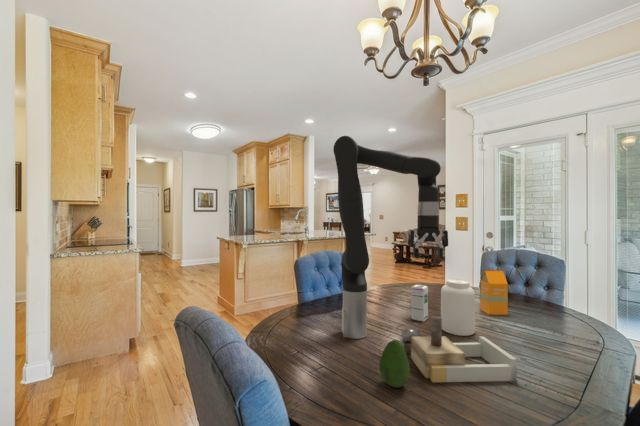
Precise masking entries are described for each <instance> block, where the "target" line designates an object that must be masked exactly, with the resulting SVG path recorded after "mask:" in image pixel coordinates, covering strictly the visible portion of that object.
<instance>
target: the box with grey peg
mask: <svg viewBox="0 0 640 426" xmlns="http://www.w3.org/2000/svg"><path fill="white" fill-rule="evenodd" d="M430 318H431V319H430V320H431V321H430V335H429V336H426V335H425V336H421V335H420V337H411V353H410V359H411V360H412V362H413V363H414V364H415V365H416V367H417V368H418V370H419V371H420V372H421V374H422V375H423V376H424V378H425V380H427V379H430V365H466V357H465V354H464V352H463V351H461V350H460V349H459V348H458V347H457V346H456V345H455V344H453V343H454V342H453V341H451V340H450V339H449V338H448V337H447V336H444V335H442V334H443V330H442V318H441V316H436V315H434V316H433V315H432V316H430Z"/></svg>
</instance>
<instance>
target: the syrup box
mask: <svg viewBox="0 0 640 426" xmlns="http://www.w3.org/2000/svg"><path fill="white" fill-rule="evenodd" d="M410 289H411V294H410V295H411V298H410V299H411V300H410V301H411V302H410V303H411V305H410V306H411V307H410V308H411V320H415V321H419V322H425V321H426V320H428V319H429V287H428V286H427V285H423V284H415V285H412V286H411V288H410Z"/></svg>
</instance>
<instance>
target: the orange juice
mask: <svg viewBox="0 0 640 426" xmlns="http://www.w3.org/2000/svg"><path fill="white" fill-rule="evenodd" d="M508 285H509V283H508V281H507V278H506V275H505V273H504V270H498V269H497V270H492V269H491V270H489V269H486V270H484V272H483V275H482V277H481V280H480V311H482V312H484V313H485V314H487V315H488V316H489V315H491V316H508V314H509V313H508V310H509V309H508V307H509V305H508V302H509V294H508V293H509V292H508V290H509V289H508V288H509V286H508Z"/></svg>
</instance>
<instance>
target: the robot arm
mask: <svg viewBox="0 0 640 426" xmlns="http://www.w3.org/2000/svg"><path fill="white" fill-rule="evenodd" d="M332 149H333V155H334V158H335V163H336V165H335V166H336V168H337V195H338V196H337V198H338V199H337V201H338V202H337V203H338V211H339V218H340V220H341V226H342V228H343V232H344V235H345V250H344V251H343V253H342V256H341V281H342V282H341V283H342V308H341V334H342V336H343V338H348V339H352V340H353V339H354V340H359V339H363V338H366V337H367V332H368V329H367V325H368V324H367V322H368V314H367V313H368V282H367V279H366V270H367V269H368V268H369V265H370V257H369V256H370V255H369V252H368V246H367V242H366V234H365V233H366V232H365V214H364V213H365V211H364V201H363V200H364V197H363V193H362V186H361V183H360V182H361V181H360V178H359V174H358V165H365V166H366V165H367V166H372V167H376V168H380V169H382V170H387V171H391V172H395V173H399V174H403V175H409V174H410V175H415V176H416V177H417V185H418V196H417V197H418V201H417V220H416V221H417V222H416V223H417V229H416V230H414V229H409V230H408V235H407V236H408V239H407V246H408V247H412V256H413V257H414V259H416V260H417V259H418V260H419V258H420V257H419V254H420V253H419V252H420V251H419V250H420V249H419V247H420V245H422V244H423V243H428V242H429V243H434V244H435V245H436V247H437V248H436V251H437V252H436V258H437V259H442V257H444V248H446V247H449V233H448V230H445V229H442V230H440V204H439V196H440V195H439V188H438V187H437V176H438V175H439V174H440V173H441V169H442V168H441V165H440V163H439V161H437V160H435V159H433V158H429V157H425V156H424V157H422V156H421V157H420V156H412V155H410V154H405V153H401V152H397V151H396V152H395V151H389V150H380V149H379V150H378V149H372V148H368V147H364V146H362V145H359V144H358V143H357V141H356V140H355V139H354V138H353V137H351V136H350V135H349V136H348V135H343V136H339V138H338V139H336V141H335V142H334V144H333V148H332ZM416 234H417V238H416V239H415V236H416ZM439 236H441V240H440V238H439ZM414 241H415V242H414Z"/></svg>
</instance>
